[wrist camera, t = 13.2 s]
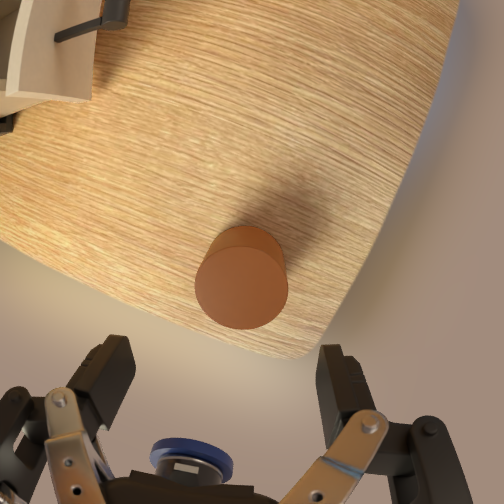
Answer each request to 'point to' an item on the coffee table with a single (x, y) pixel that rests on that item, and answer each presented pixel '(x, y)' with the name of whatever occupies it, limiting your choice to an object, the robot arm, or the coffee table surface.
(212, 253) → the orange brown cylinder
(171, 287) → the coffee table surface
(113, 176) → the coffee table surface
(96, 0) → the drawer
